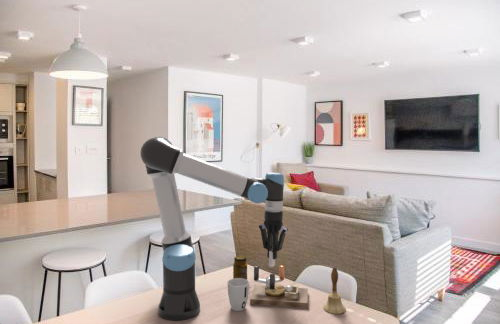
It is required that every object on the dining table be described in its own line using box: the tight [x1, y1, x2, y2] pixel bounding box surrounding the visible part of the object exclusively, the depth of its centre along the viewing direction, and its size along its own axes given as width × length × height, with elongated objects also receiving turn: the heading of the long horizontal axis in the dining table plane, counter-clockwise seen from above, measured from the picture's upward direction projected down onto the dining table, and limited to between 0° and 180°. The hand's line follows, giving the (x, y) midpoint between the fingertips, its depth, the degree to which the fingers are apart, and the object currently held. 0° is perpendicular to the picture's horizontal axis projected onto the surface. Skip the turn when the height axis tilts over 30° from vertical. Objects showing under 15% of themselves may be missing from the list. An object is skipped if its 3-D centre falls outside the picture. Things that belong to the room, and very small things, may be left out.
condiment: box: [232, 255, 251, 289], centre depth 169 cm, size 7×8×12 cm
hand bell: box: [322, 266, 346, 315], centre depth 147 cm, size 8×8×16 cm
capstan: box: [253, 264, 286, 297], centre depth 156 cm, size 13×12×10 cm
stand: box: [249, 284, 309, 309], centre depth 156 cm, size 22×14×4 cm, turn 82°
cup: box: [227, 278, 250, 312], centre depth 147 cm, size 8×8×10 cm
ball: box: [285, 285, 293, 292], centre depth 156 cm, size 3×3×3 cm
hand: (271, 265), depth 163 cm, fingers closed
